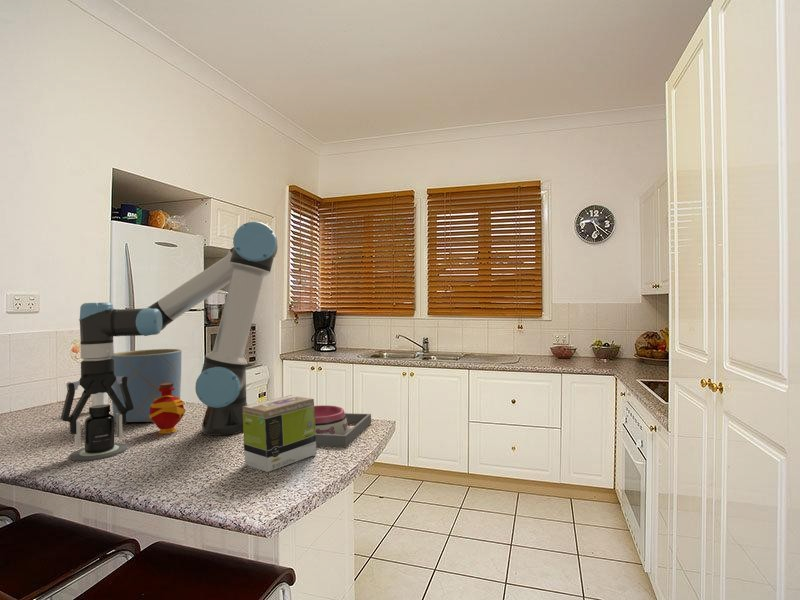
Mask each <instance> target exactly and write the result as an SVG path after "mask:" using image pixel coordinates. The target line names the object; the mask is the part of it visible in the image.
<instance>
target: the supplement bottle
mask: <svg viewBox="0 0 800 600" xmlns="http://www.w3.org/2000/svg"><path fill="white" fill-rule="evenodd" d="M110 412H111V405H110V404H108V405H107V404H104V405H95V406H92V405H91V406H89V407H88V415H89V416H88V417H87V418H85V420H84V422H83V423H84V426H83V427H84V434H83V435H84V436H83V437H84V438H83V439H84V448H85V452H86V453H89V454H94V453H102V452H106V451H109V450H111V449H113V448H114V443H115V422H114V416H113V414H111V413H110Z"/></svg>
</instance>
